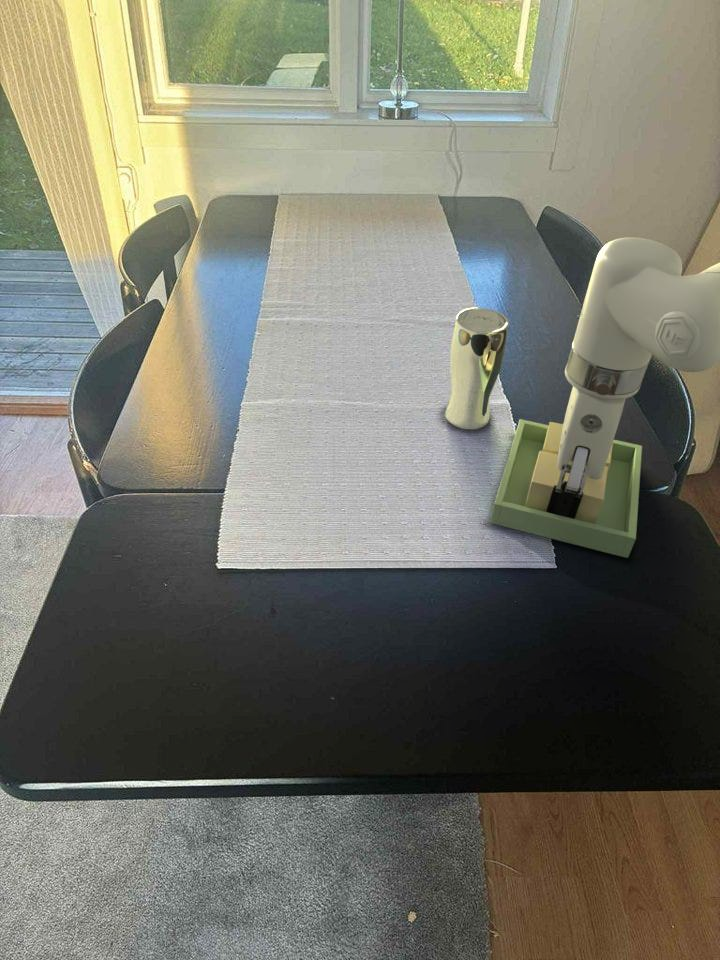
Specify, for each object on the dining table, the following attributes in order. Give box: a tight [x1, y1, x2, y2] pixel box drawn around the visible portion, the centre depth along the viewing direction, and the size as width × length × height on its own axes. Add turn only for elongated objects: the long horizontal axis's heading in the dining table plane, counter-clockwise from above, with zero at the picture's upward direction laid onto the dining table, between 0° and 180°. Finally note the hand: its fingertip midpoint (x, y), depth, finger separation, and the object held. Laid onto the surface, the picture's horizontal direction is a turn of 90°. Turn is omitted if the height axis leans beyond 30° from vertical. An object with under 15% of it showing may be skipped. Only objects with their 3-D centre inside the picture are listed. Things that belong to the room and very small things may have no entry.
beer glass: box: [444, 307, 510, 430], centre depth 93 cm, size 7×7×15 cm
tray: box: [490, 418, 643, 559], centre depth 85 cm, size 16×18×3 cm
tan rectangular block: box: [525, 451, 608, 524], centre depth 81 cm, size 8×6×4 cm
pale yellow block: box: [542, 421, 613, 470], centre depth 88 cm, size 8×6×4 cm
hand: (564, 495), depth 82 cm, fingers closed on tan rectangular block, 6 cm apart
